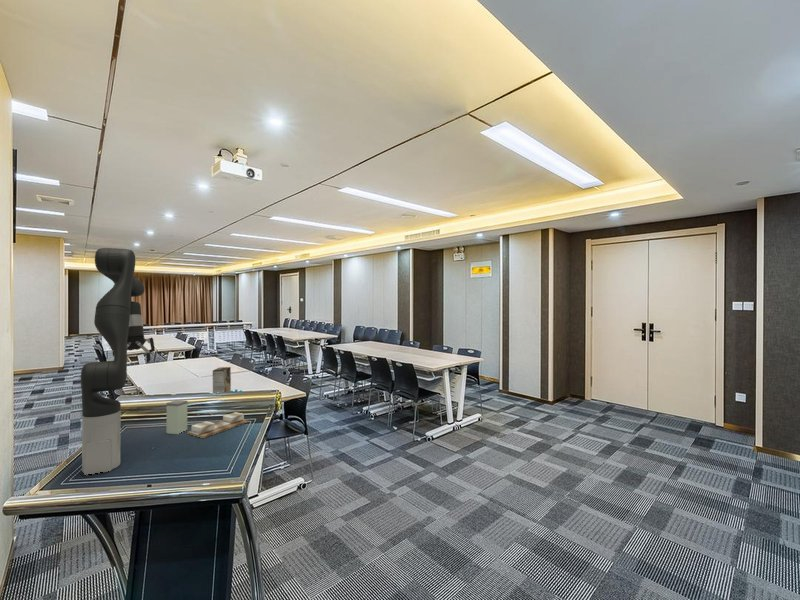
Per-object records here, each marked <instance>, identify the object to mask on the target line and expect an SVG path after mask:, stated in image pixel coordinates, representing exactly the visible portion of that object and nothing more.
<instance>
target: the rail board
mask: <svg viewBox="0 0 800 600" xmlns="http://www.w3.org/2000/svg"><path fill="white" fill-rule="evenodd" d="M247 422H248V423H249V421H248V420H245V414H244V413H242V412H241V413H240V412H237V411H236V412H235V411H234V412H232V413H228V414H225V415H223V416H222V420H220V421H217V422H211V421H207V420H205V421H203V422H202V421H201V422H199V423H195V424H192V425H191V430H189V431H186V432H187V435H188V434H190V435H189V436H191V435H193V436H192V437H195V436H197V437H196V438H198V437H200V438H199V439H202V438H204V439H206V438H205V437H207V436H210V437H212V436H211V435H213V436H215V435H214V434H216V433H218V434H220V433H219V432H221V433H223V432H222V431H224V432H227V431H229V430H228V429H230V430H232V429H231V428H233V427H236V426H238V427H240V426H239V425H241V424H244V423H247ZM248 423H247V424H248ZM244 425H245V424H244ZM241 426H242V425H241ZM236 428H237V427H236ZM233 429H234V428H233ZM226 430H227V431H226ZM216 435H217V434H216ZM207 438H208V437H207Z"/></svg>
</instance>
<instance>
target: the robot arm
mask: <svg viewBox="0 0 800 600" xmlns="http://www.w3.org/2000/svg"><path fill="white" fill-rule="evenodd" d="M94 265H95V268H96V270H97V271H98V272H99V273H100V274H101V275H103V276H105V277H106V278H108V279H109V280H110V281H112V282H113V286H112V288H111V289H109V290H108V291H107V292H106V293H105V294H104V295H103V296H102V297H101V298H100V299H99V301H98V302H97V304H96V306H95V312H94V321H93V323H94V327H95V328H96V330H97V332H98V333H99V334H100V336H102V338H103V339H104V340H105V341H106V342H107V344H108V345H109V347H110V349H111V350H112V356H113V360H108V361H107V360H106V361H93V362H87V363H85V364H84V365H83V366H82V368H81V372H80V386H81V387H80V388H81V411H82V413H81V414H82V416H81V417H82V419H81V424H82V425H81V427H82V428H81V473H82V472H83V473H84V474H83V473H82V474H83V475H86V474H87V475H86V476H89V475H88V474H92V475H96V474H95V473H98V474H101V473H100V472H103V473H108V471H109V472H111V471H112V470H114V469H116V468H118V467H119V466H120V465H121V420H122V419H121V416H122V415H121V412H122V411H121V406H122V405H121V401H119V400H117V399H112V398H107V397H105V396H102V395H100V394H99V392H107V391H118V390H122V389H123V388H124V387H125V384H126V383H127V377H128V376H127V372H128V369H127V367H128V364H127V363H128V359H127V358H128V351H134V350H136V351H138V350H141V349H142V351H144V352H145V353H146V354H145V359H146V364H147V363H150V362H151V359H152V358H151V353H153V352H155V351H156V348H155V343H154V341H155V340H154V338H153V337H149V338H145V334H144V333H145V332H144V320H143V315H142V306H141V303H140V302H138V301H131V300H132V297H133V298H134V297H141V296H142V295H143V294H144V293H145V285H144V284H143V282H142V281H141V280H140V279H138V278H136V277H135V275H134V274H135V269H136V255H135V253H134V251H133V250H132V249H127V248H118V247H117V248H113V247H102V248H98V249H97V250H96V252H95V254H94ZM146 342H147V343H148V344H150V349H148V348H147V347H146V346H144V344H146Z"/></svg>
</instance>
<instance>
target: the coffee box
mask: <svg viewBox="0 0 800 600" xmlns="http://www.w3.org/2000/svg"><path fill="white" fill-rule="evenodd" d="M231 373H232V372H231V366H228V367H227V366H226V367H225V366H224V367H223V366H222V367H217V368H215V369H213V370H212V394H213V393H217V392H230V391H232V390H231V389H232V388H231V386H232V385H231V384H232V382H231V380H232V378H231V375H232V374H231Z"/></svg>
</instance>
